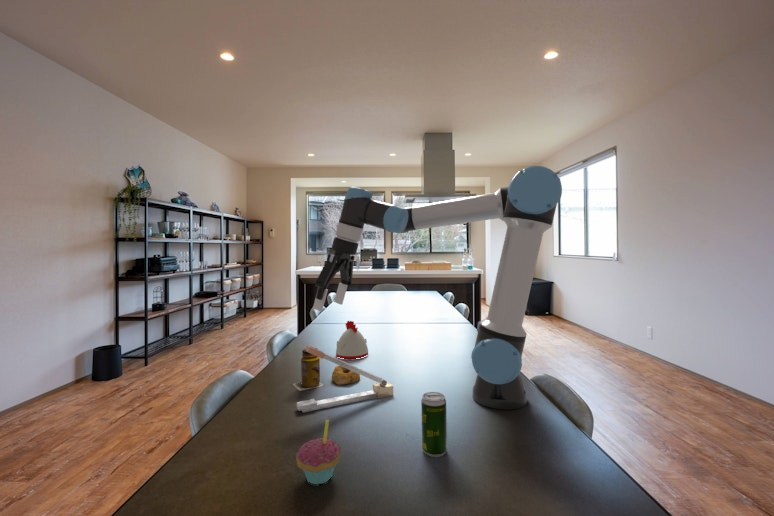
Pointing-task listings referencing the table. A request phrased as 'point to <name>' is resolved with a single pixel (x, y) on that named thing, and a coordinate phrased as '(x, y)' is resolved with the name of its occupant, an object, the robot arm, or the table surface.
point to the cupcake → (319, 458)
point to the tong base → (347, 398)
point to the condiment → (309, 372)
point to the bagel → (344, 376)
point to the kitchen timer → (351, 343)
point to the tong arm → (344, 364)
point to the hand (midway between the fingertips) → (328, 306)
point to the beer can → (434, 424)
